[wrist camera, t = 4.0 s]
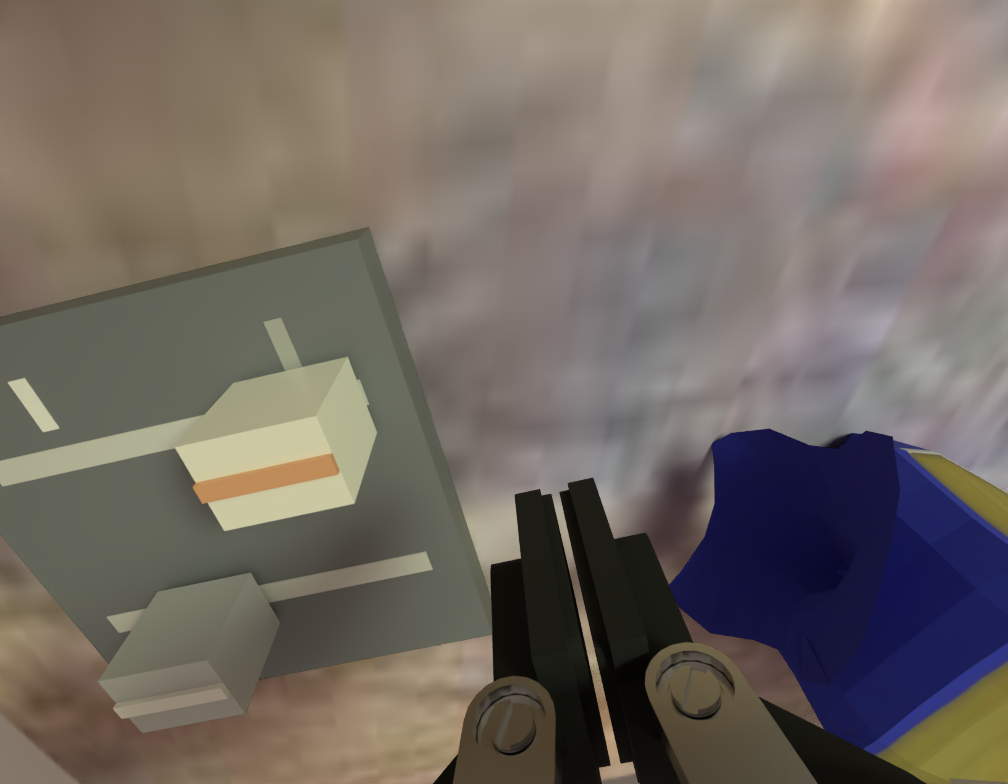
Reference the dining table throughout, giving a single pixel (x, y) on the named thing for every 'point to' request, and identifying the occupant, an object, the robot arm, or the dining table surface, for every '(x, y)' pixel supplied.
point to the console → (169, 485)
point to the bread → (867, 591)
